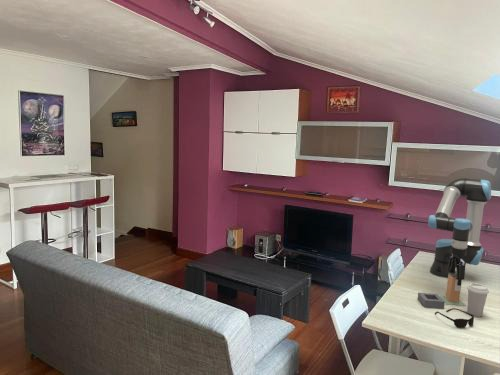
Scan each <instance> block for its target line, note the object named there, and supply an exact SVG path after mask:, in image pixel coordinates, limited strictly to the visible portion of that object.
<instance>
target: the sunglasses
mask: <svg viewBox="0 0 500 375" xmlns="http://www.w3.org/2000/svg"><path fill="white" fill-rule="evenodd" d="M453 310H456V311H458V312H462V313H464V314H466V315H468V316H469V317H470V318H468V319H465V318H455V319H453V318H451V317H450V316H448V315H445V314H443V313H441V312H439V311H435V312H434V315H437V314H439V315H441V316H442V317H444V318H446V319H447V320H450V321H452V322H453V325H454V326H455V327H456V328H458V329H465V328H466V327H467V325H468V326H469V327H473V326H474V321H475V316H474V315H472V314H470V313H468V312H467V311H465V310H463V309H459V308H455V307H454V308H453V307H452V308H449V309H447V310H445V312H446V313H449V312H451V311H453Z"/></svg>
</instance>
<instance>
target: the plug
mask: <svg viewBox="0 0 500 375" xmlns="http://www.w3.org/2000/svg"><path fill="white" fill-rule="evenodd" d="M456 278H457V272H456V273H449V274H448V278H447V282H446V292H445V297H446V299H447V300H448V301H449V302H454V303H459V299H460V298H461V290H462V288H461V289H460V291H455V282H456ZM462 282H463V281H462ZM462 282H461V284H462ZM460 300H461V299H460Z"/></svg>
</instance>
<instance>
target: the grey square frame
mask: <svg viewBox="0 0 500 375" xmlns="http://www.w3.org/2000/svg"><path fill="white" fill-rule="evenodd" d="M417 301H419V303H420V304H421V306H422V307H423V308H427V309H439V310H441V309H442V310H444V309H445V305H446V303H445V301H444V300H443V299H442V298H441V297H440V295H439V294H438V293H432V292H431V293H430V292H418V293H417Z"/></svg>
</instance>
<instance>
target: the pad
mask: <svg viewBox="0 0 500 375" xmlns="http://www.w3.org/2000/svg"><path fill="white" fill-rule="evenodd" d="M439 296H440V295H439ZM440 297H441V298H442V299H443V300H444V301H445V305H447V306H450V305H452V306H463V307H467V305H466V304H465V303H464V302H463V301H462V300H461V299H459V303H454V302H449V301H448V300H447V299H446V295H445V296H440Z"/></svg>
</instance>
